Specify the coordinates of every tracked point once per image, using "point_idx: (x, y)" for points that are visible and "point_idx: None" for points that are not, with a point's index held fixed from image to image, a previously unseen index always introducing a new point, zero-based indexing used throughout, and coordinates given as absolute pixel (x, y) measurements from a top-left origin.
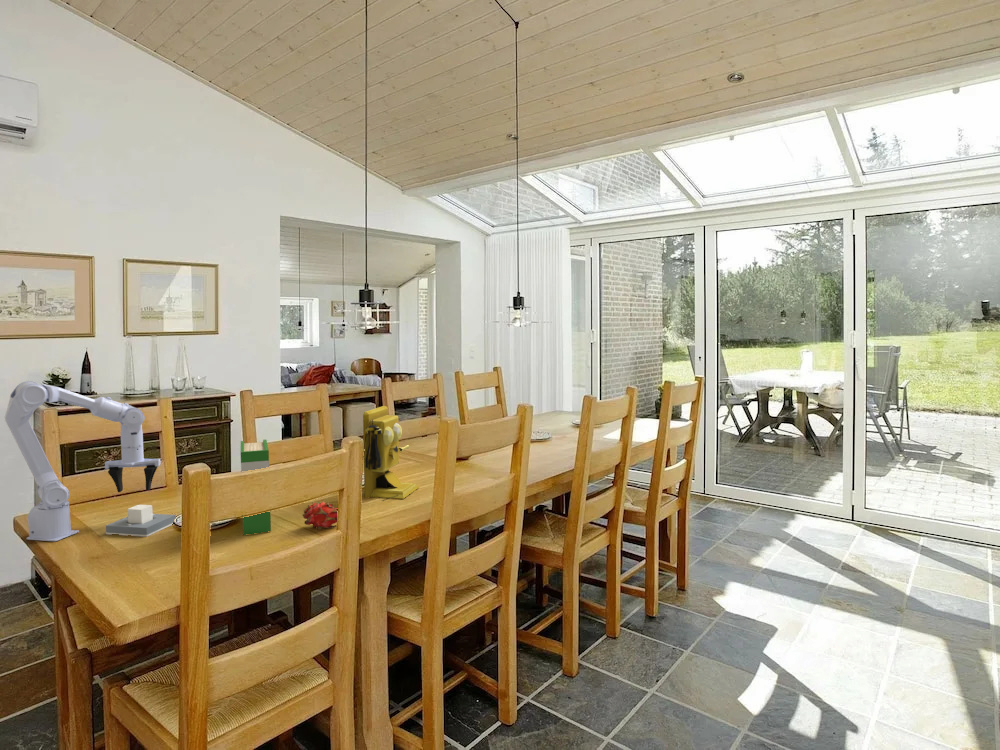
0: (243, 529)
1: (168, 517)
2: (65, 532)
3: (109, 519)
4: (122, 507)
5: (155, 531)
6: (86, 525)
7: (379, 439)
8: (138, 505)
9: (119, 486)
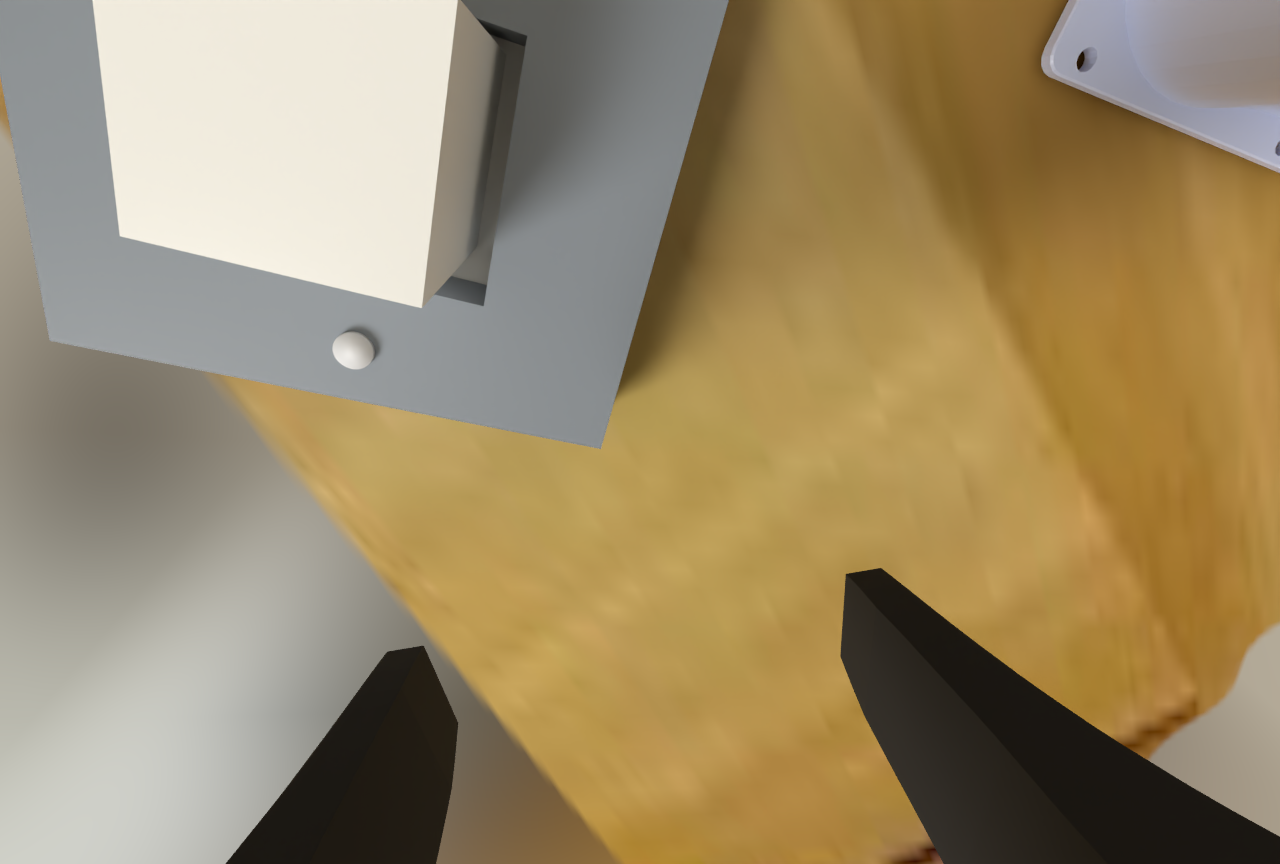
0: None
1: (51, 234)
2: None
3: (856, 460)
4: (850, 692)
5: None
6: (1004, 312)
7: None
8: (387, 244)
9: (907, 651)
